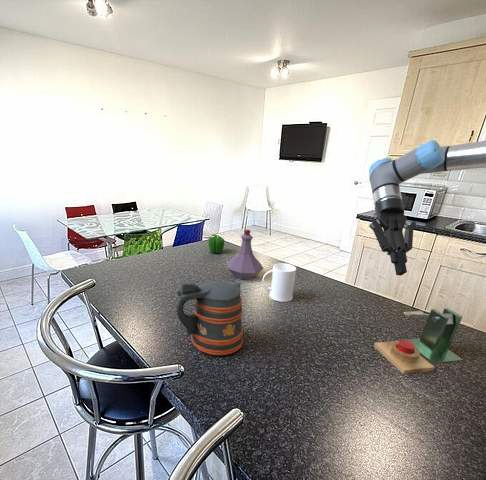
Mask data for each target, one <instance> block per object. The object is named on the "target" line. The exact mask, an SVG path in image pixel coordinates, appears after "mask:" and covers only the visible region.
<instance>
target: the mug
mask: <svg viewBox="0 0 486 480" xmlns="http://www.w3.org/2000/svg"><path fill="white" fill-rule="evenodd" d="M296 273H297V267H296V266H294V265H293V264H291V263H284V262H280V263H275V264H273V266H272V269H271V270H268V271H266V272H265V273H264V274H263V277H262V281H261V282H262V285H263V287H264V288H265V289H266V290H268V291H269V294H268V296H269V298H270V299H271V300H273V301H276V302H279V303H289V302H291V301H292V300H293V299H294V298H293V293H294V286H295V281H296V280H295V279H296ZM269 274H272V275H271V283H270V286H267V285H266V284H265V278H266V277H267V275H269Z"/></svg>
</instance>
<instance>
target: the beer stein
mask: <svg viewBox="0 0 486 480" xmlns="http://www.w3.org/2000/svg"><path fill="white" fill-rule="evenodd" d="M180 288H181V289H178V290H176V295H177V296H178V297H179V299H178V301H177V304H176V315H177V318H178V320H179V322H180V323H181V324H182V325H183V327H184V332H185V333H186V334H187V335H188V336H191V337H190V338H191V342H192V345H193V346H194V348H196V349H197V350H198V351H199V352H201V353H203V354H206V355H209V356H215V357H219V356H227V355H232V354H234V353H236V352H237V351H239V350H240V349H241V348H242V346H243V344H244V328H243V327H244V326H243V325H242V316H243V303H242V301H243V299H242V297H241V293H242V292H241V282H237V283H232V282H228V281H221V280H211V281H207V282H204V283H201V284H200V285H199V286H198V285H197V284H195V283H194V282H184V281H183V282H181V286H180ZM191 300H194V308H193V314H186V313H185V311H184V306H185V304H186V302H188V301H191Z"/></svg>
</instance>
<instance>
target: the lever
mask: <svg viewBox="0 0 486 480" xmlns="http://www.w3.org/2000/svg"><path fill="white" fill-rule="evenodd" d="M441 313H442V314H444V313H443V312H441ZM429 314H430V313H424V312H423V311H422V310H415V311H402V312H401V317H403V318H409V317H417V318H422V319H424V318H425V319H428V317H429ZM444 315H445V316H447V317H449V319H448V322H447V324H453V315H452V314H444Z"/></svg>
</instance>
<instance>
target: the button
mask: <svg viewBox="0 0 486 480" xmlns="http://www.w3.org/2000/svg"><path fill="white" fill-rule="evenodd" d="M398 341H399V342H398V345H397V349H398V350H400V351H401V352H404V353H407V354H412V353H413V351H414V348H415V346H414V344H412V343H411V342H409V341H405V339H401V340H398Z"/></svg>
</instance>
